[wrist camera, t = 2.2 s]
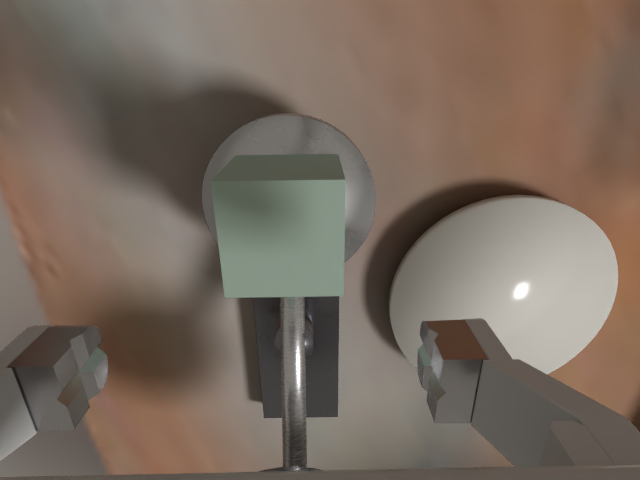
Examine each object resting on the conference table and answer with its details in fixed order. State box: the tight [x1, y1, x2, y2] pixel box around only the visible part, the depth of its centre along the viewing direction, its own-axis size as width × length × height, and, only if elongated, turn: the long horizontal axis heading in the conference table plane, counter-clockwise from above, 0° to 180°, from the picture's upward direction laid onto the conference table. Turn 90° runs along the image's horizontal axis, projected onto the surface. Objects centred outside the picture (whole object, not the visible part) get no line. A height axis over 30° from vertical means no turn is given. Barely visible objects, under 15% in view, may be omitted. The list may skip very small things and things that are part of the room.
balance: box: [202, 113, 376, 472], centre depth 20 cm, size 22×8×10 cm, turn 1°
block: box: [211, 154, 346, 298], centre depth 16 cm, size 4×4×4 cm
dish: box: [389, 195, 618, 374], centre depth 24 cm, size 13×13×2 cm
